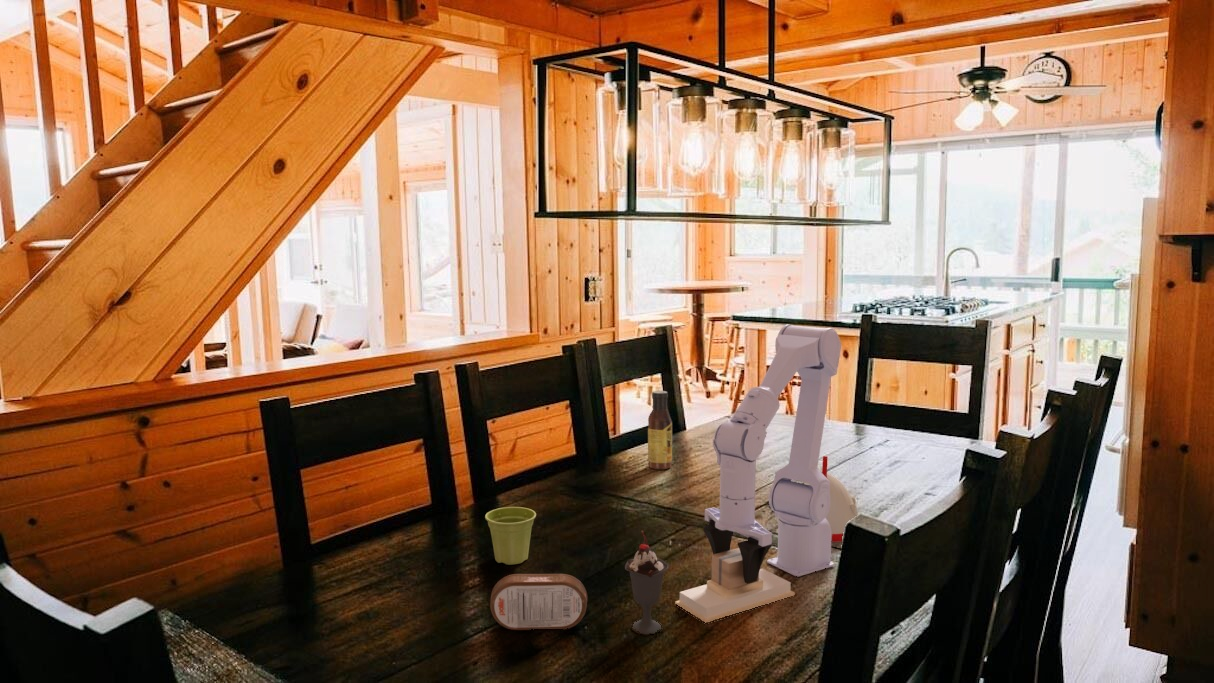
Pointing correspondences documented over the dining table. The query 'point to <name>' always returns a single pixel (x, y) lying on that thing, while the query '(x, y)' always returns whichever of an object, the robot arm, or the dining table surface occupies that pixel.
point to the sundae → (646, 584)
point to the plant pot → (511, 533)
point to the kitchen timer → (838, 505)
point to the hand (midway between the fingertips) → (736, 573)
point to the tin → (538, 601)
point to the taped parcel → (730, 575)
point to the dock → (733, 598)
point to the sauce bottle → (659, 433)
